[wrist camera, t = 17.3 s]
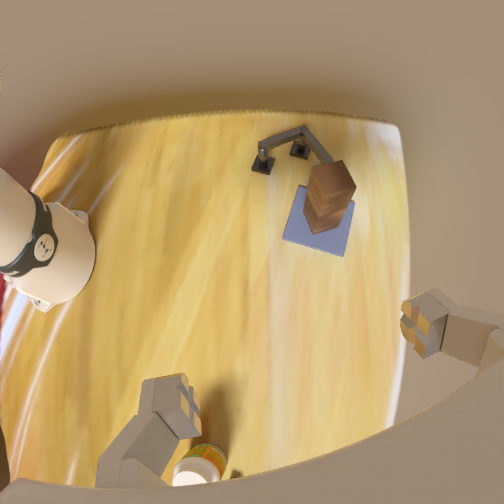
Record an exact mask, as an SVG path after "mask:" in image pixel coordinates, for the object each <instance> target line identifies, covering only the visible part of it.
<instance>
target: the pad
mask: <svg viewBox="0 0 504 504" xmlns="http://www.w3.org/2000/svg"><path fill="white" fill-rule="evenodd" d="M306 194H307V188H304V187H300V186H299V187H298V190H297V194H296V197H295V200H294V203H293V206H292V210H291V213H290V216H289V219H288V222H287V225H286V229H285V232H284V235H283V239H284V240H287V241H290V242H294V243H297V244H301V245H304V246H307V247H311V248H314V249H317V250H321V251H324V252H327V253H331V254H334V255H337V256H341V257H343V256H344V252H345V248H346V243H347V239H348V234H349V229H350V225H351V220H352V215H353V210H354V205H355V202H351V201H350V203H349V205H348V207H347V209H346V211H345V214H344V216H343V218H342V220H341V222H340V224H339V226H338V228H335V229H331V230H328V231H325V232H321V233H318V234H314V235H312V232H311V230H310V227H309V225H308V222H307V220H306V217H305V215H304V213H303V208H304V204H305V199H306Z"/></svg>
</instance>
